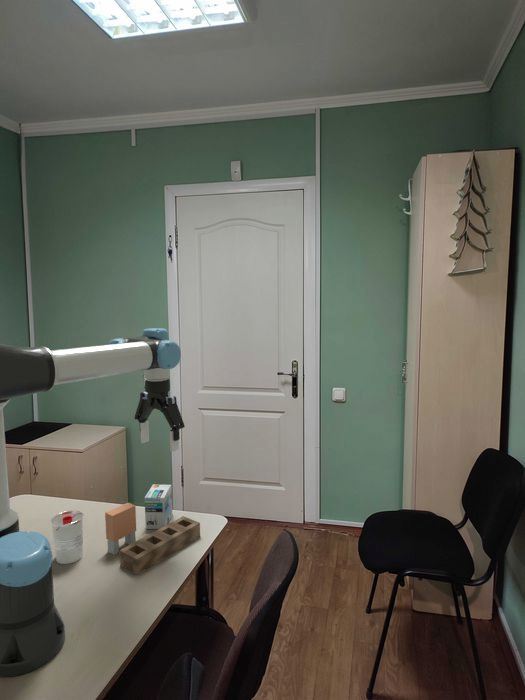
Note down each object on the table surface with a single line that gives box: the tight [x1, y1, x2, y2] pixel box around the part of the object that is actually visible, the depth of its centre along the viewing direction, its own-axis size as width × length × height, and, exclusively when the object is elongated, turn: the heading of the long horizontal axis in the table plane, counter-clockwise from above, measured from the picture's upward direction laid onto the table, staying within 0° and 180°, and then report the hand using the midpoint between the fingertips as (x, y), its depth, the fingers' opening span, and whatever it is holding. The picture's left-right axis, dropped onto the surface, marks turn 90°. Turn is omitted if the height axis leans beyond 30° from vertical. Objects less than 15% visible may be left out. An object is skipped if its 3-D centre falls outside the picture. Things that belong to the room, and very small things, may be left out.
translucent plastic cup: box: [50, 510, 84, 565], centre depth 128 cm, size 10×8×12 cm
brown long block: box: [119, 516, 201, 576], centre depth 131 cm, size 24×7×4 cm, turn 144°
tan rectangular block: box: [104, 502, 137, 556], centre depth 133 cm, size 8×4×12 cm, turn 144°
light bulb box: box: [144, 483, 173, 530], centre depth 148 cm, size 11×7×11 cm, turn 179°
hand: (159, 446), depth 139 cm, fingers open, 13 cm apart
